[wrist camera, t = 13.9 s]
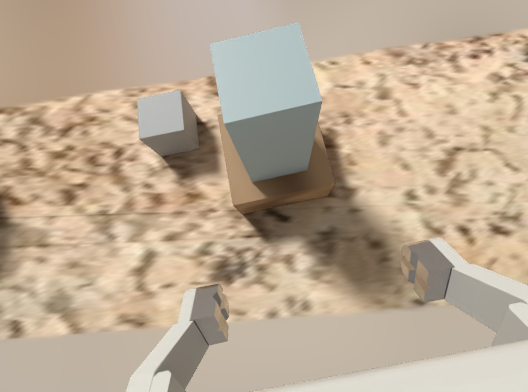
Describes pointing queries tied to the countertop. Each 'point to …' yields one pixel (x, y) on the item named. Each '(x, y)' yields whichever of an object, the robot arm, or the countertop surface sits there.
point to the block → (167, 123)
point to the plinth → (277, 179)
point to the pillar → (268, 99)
